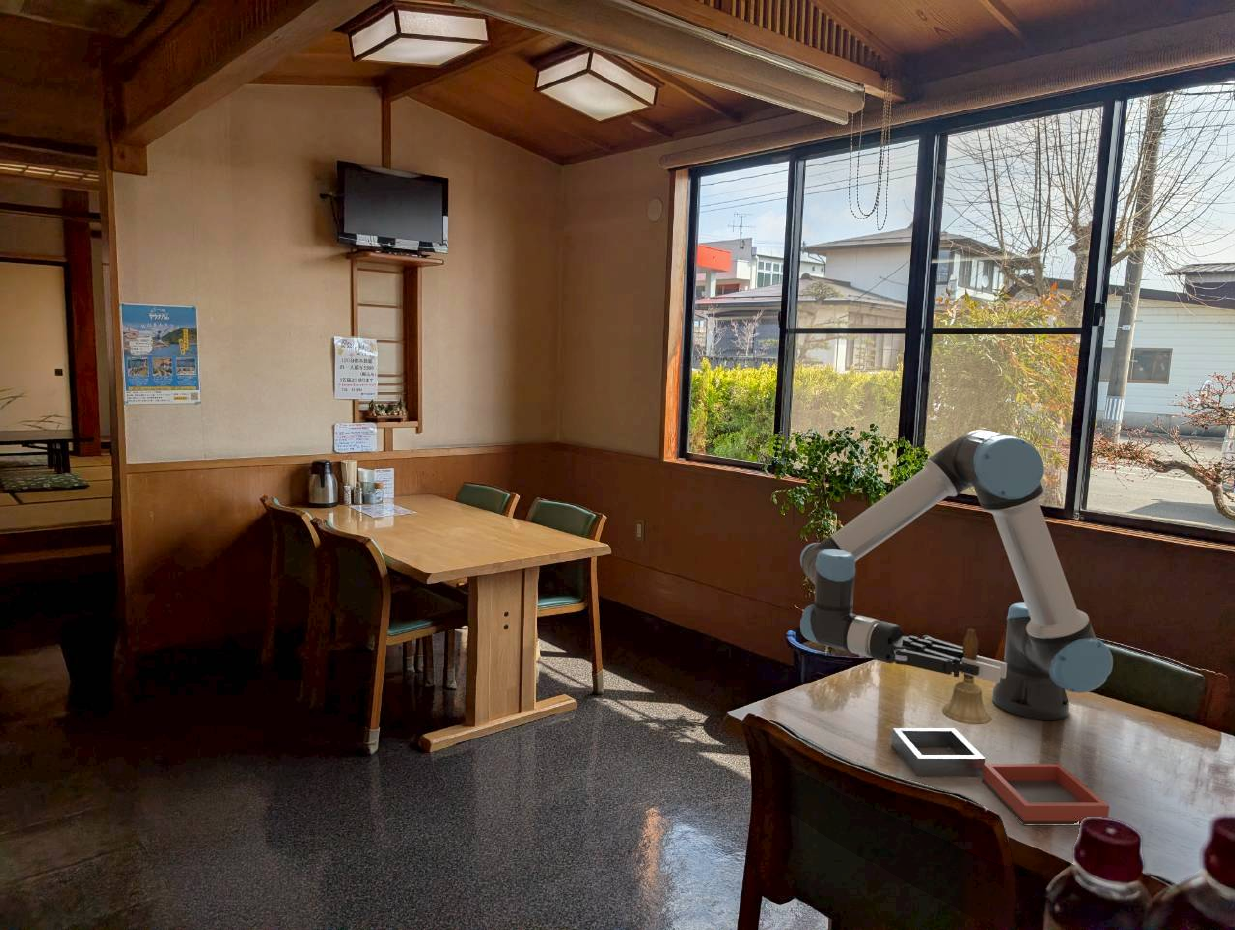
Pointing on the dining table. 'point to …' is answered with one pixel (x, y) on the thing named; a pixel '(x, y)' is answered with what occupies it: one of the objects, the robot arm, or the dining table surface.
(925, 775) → the grey square open box
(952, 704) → the hand bell
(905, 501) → the robot arm
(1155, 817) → the dining table surface
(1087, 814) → the tray
